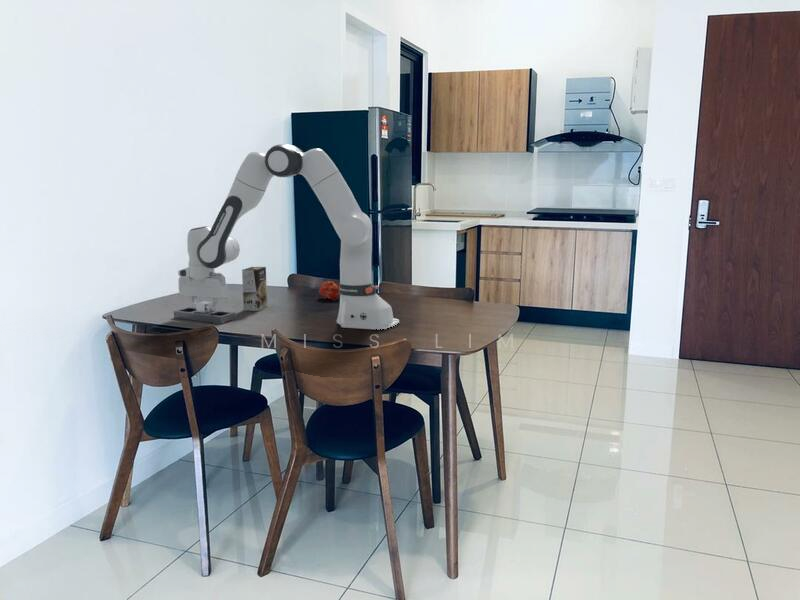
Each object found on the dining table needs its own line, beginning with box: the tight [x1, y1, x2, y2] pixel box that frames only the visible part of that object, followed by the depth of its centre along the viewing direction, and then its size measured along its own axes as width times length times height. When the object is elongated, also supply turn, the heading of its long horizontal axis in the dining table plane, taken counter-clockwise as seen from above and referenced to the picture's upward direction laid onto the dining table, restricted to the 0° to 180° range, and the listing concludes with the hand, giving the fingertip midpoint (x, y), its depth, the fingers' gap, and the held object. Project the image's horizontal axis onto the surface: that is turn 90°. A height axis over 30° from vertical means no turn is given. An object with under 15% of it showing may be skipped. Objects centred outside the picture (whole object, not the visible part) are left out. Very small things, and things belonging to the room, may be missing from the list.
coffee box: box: [241, 266, 268, 312], centre depth 249 cm, size 9×6×16 cm
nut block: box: [196, 300, 213, 314], centre depth 233 cm, size 4×4×6 cm
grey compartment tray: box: [173, 306, 237, 324], centre depth 233 cm, size 22×8×2 cm, turn 64°
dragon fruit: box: [317, 280, 340, 301], centre depth 268 cm, size 8×8×12 cm
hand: (204, 309), depth 233 cm, fingers open, 7 cm apart
